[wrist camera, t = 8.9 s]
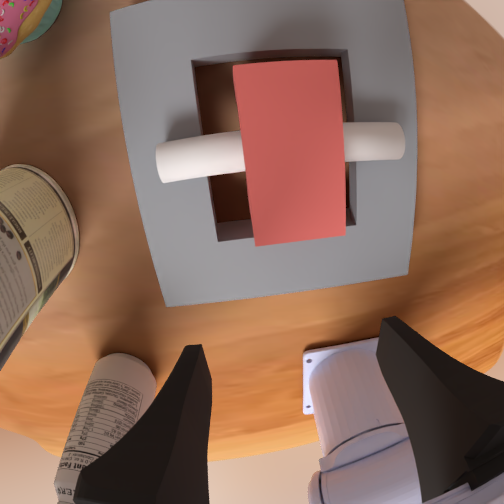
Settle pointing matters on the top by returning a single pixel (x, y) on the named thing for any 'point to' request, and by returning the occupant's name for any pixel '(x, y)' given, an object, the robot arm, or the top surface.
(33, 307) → the coffee can
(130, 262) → the top surface
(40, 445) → the top surface
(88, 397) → the energy drink can
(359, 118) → the grey frame with dowel
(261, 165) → the red arch block
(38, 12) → the cupcake
